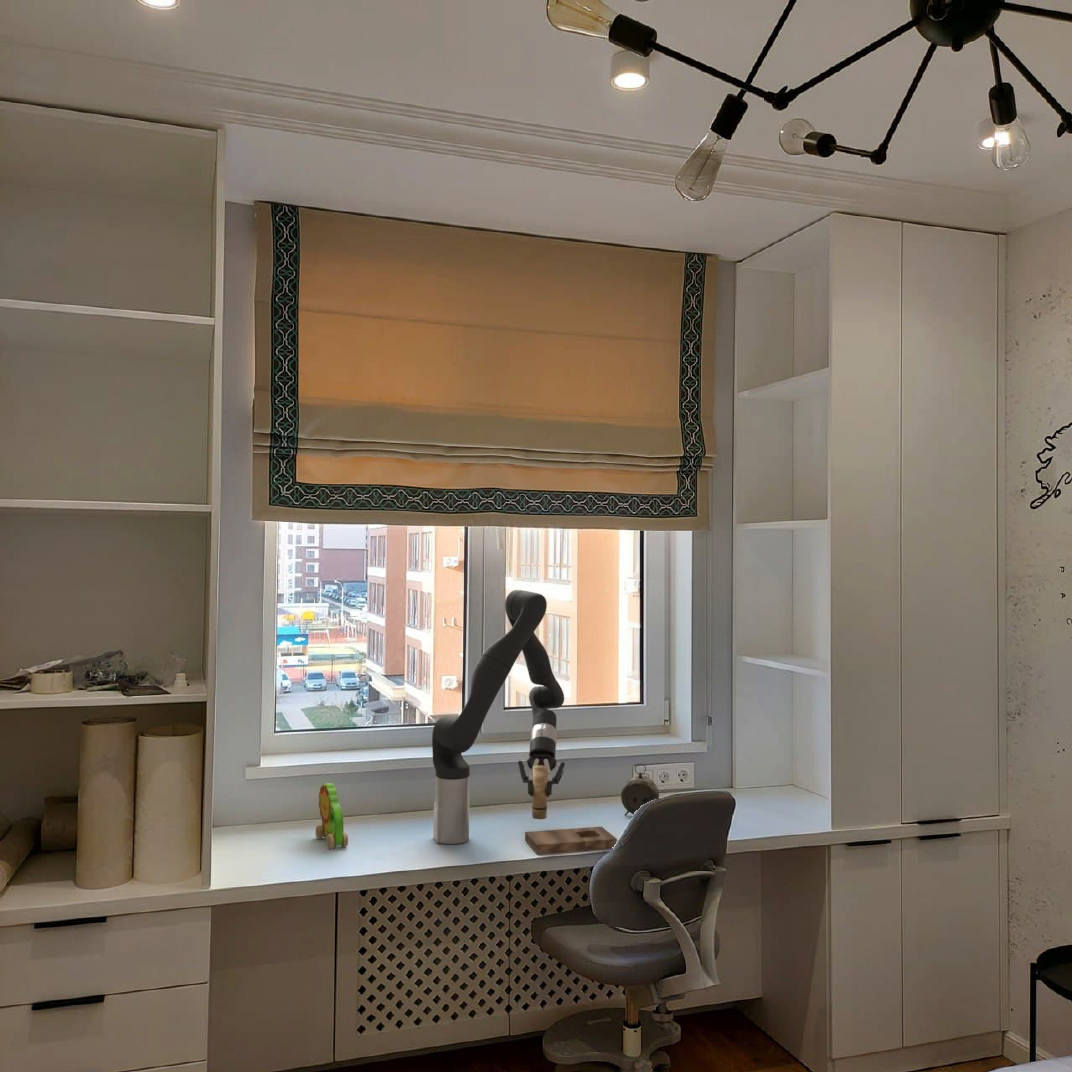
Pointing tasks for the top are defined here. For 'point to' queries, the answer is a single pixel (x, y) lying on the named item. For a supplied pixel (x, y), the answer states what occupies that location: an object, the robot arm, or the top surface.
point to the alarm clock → (638, 792)
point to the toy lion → (331, 818)
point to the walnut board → (570, 840)
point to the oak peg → (539, 792)
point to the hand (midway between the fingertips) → (539, 794)
